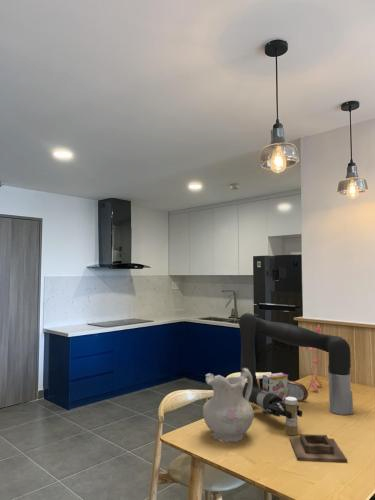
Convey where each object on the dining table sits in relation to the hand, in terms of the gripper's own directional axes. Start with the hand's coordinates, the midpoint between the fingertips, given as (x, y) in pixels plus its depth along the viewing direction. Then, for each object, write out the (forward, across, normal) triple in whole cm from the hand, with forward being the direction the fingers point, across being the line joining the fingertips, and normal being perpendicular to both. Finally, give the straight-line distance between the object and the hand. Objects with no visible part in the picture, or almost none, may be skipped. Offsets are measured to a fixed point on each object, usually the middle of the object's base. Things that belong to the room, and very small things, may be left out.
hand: (296, 415), depth 145 cm
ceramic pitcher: (-11, -23, +8) cm, 27 cm away
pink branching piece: (-40, +52, +8) cm, 66 cm away
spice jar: (-3, 0, +8) cm, 8 cm away
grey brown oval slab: (-35, +28, +8) cm, 46 cm away
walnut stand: (+12, -2, +8) cm, 15 cm away
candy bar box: (-25, +9, +8) cm, 28 cm away
